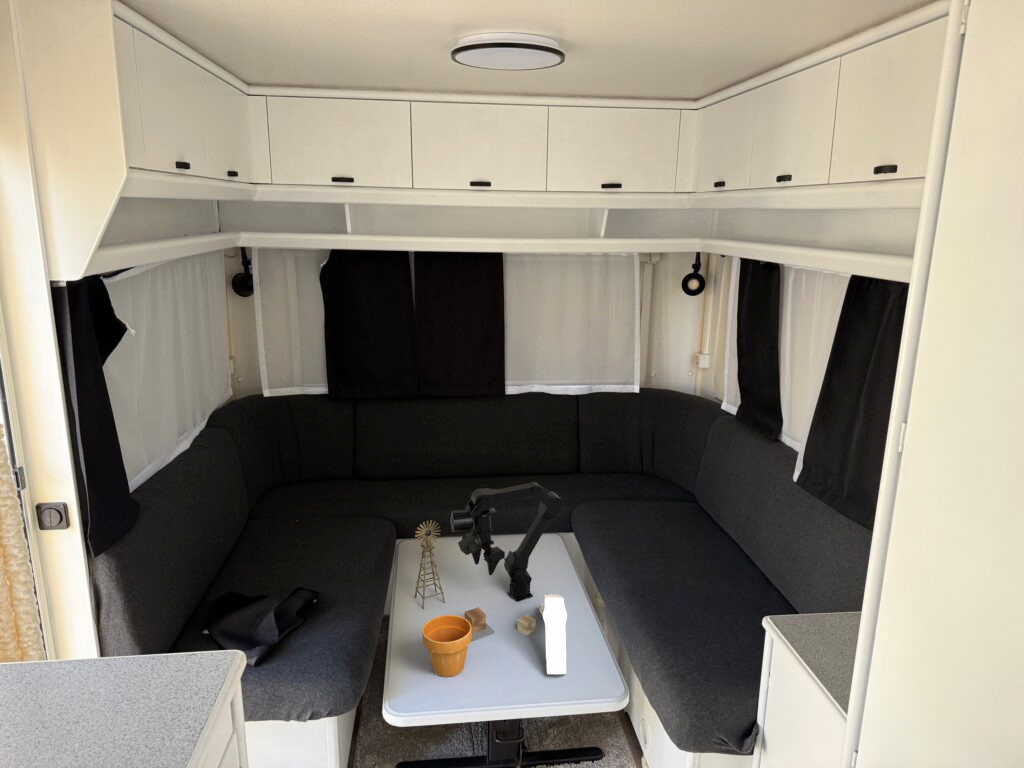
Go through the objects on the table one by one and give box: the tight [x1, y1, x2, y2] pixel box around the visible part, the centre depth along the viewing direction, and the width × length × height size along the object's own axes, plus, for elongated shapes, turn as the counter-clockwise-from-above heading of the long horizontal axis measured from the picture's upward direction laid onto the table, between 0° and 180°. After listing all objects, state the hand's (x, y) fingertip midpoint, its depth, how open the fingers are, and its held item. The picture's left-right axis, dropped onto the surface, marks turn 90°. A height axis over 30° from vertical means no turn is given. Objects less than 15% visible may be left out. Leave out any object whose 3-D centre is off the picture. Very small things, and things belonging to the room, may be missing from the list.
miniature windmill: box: [414, 519, 446, 610], centre depth 235 cm, size 9×8×30 cm
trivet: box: [471, 622, 495, 642], centre depth 221 cm, size 8×10×1 cm
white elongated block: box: [538, 594, 568, 675], centre depth 214 cm, size 7×33×21 cm, turn 0°
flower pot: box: [421, 614, 472, 678], centre depth 201 cm, size 14×14×13 cm
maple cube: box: [516, 614, 536, 637], centre depth 220 cm, size 4×4×4 cm
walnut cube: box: [464, 606, 487, 633], centre depth 220 cm, size 5×5×5 cm
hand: (483, 569), depth 235 cm, fingers open, 9 cm apart
